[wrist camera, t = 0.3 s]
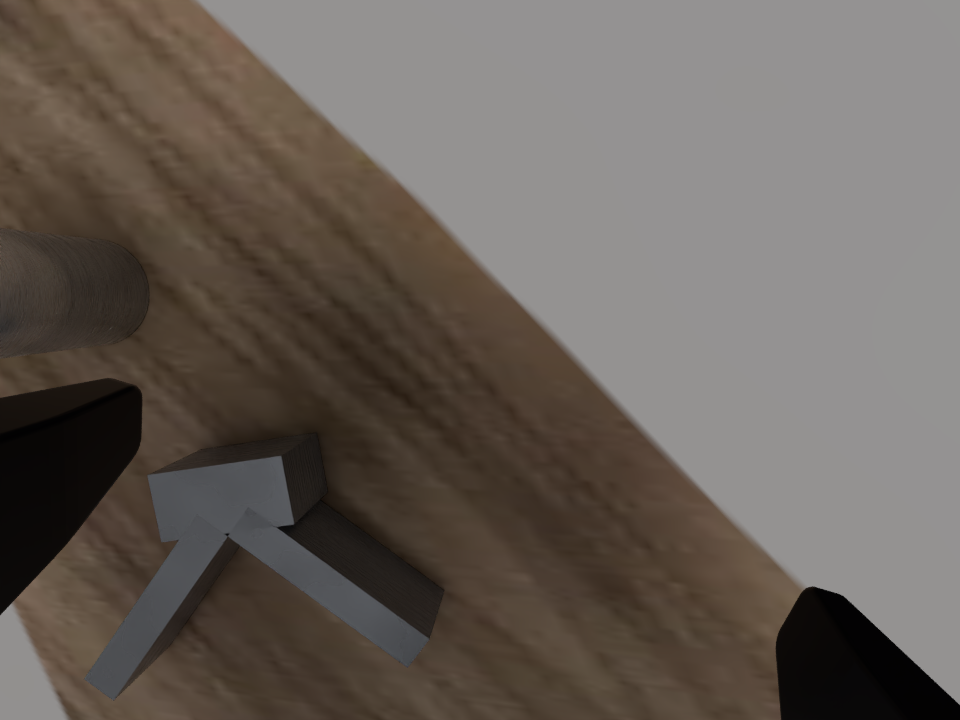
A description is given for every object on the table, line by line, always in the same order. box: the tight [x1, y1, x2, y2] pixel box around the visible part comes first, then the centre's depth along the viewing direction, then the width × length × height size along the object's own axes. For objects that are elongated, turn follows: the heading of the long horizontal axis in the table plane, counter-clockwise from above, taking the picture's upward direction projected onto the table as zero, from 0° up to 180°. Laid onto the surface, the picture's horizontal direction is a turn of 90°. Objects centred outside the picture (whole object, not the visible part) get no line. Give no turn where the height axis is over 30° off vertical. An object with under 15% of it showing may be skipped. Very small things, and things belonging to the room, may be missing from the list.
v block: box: [84, 433, 444, 701], centre depth 23 cm, size 7×12×4 cm, turn 99°
